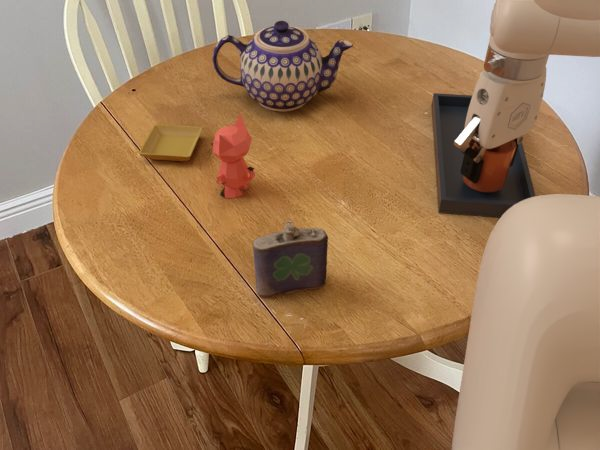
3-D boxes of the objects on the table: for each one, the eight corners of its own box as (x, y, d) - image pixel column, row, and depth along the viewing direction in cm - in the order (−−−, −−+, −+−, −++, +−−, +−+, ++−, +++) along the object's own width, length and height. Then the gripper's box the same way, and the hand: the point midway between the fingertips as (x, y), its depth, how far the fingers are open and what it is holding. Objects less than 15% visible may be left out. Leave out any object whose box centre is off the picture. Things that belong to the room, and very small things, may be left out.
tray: (533, 220, 85) (538, 206, 83) (438, 212, 86) (441, 199, 84) (507, 110, 106) (510, 97, 104) (431, 105, 107) (433, 93, 106)
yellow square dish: (140, 163, 95) (137, 153, 94) (156, 133, 101) (154, 123, 100) (191, 167, 94) (190, 157, 93) (205, 136, 101) (203, 126, 99)
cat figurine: (229, 170, 94) (221, 106, 85) (267, 181, 92) (263, 116, 83) (206, 197, 89) (195, 131, 81) (245, 209, 87) (239, 142, 79)
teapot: (209, 116, 105) (199, 39, 95) (224, 75, 116) (217, 1, 106) (348, 122, 103) (353, 44, 93) (351, 80, 114) (355, 5, 104)
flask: (258, 300, 74) (253, 240, 67) (254, 283, 76) (249, 223, 69) (328, 287, 76) (331, 227, 68) (322, 271, 78) (324, 211, 70)
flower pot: (513, 183, 88) (525, 145, 83) (483, 197, 86) (494, 159, 81) (483, 162, 92) (492, 124, 87) (453, 175, 90) (462, 137, 85)
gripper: (489, 91, 70) (461, 204, 82) (584, 53, 76) (545, 163, 89) (445, 65, 74) (425, 176, 87) (538, 32, 81) (507, 139, 93)
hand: (486, 169), depth 87 cm, fingers closed on flower pot, 6 cm apart
